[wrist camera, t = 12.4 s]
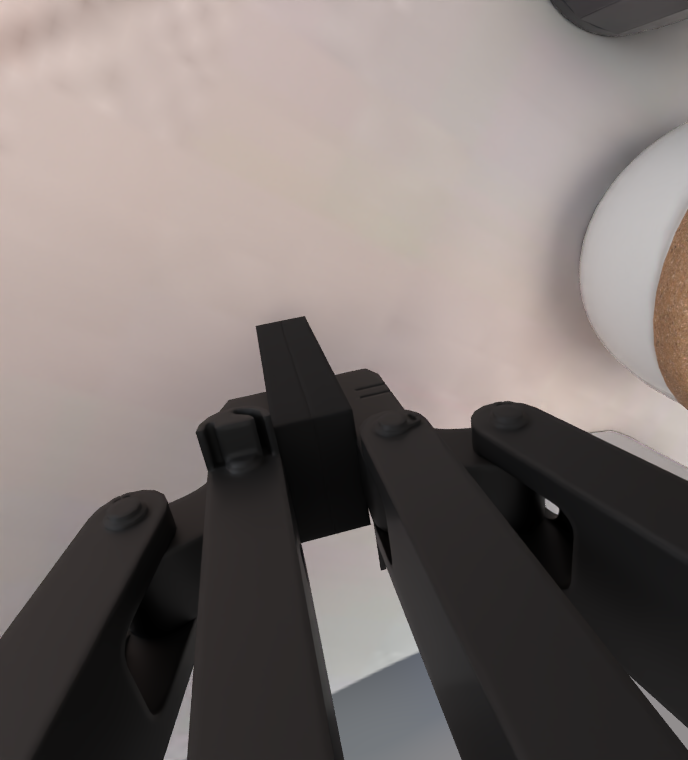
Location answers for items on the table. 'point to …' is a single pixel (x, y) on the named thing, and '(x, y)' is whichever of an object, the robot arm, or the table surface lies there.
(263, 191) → the table surface
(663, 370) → the trinket box
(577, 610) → the robot arm
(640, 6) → the pen cup
